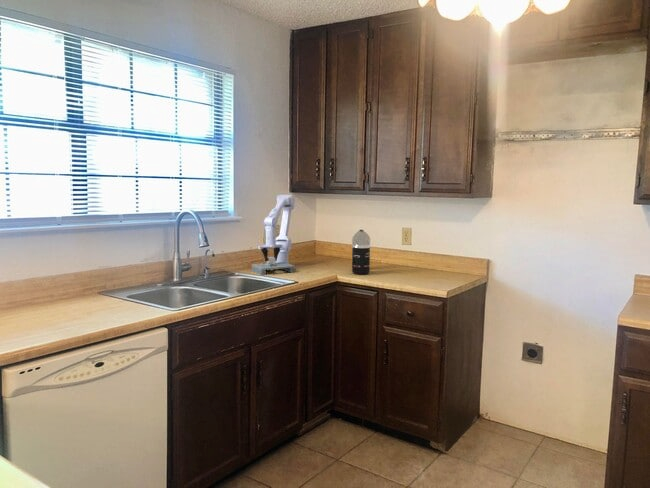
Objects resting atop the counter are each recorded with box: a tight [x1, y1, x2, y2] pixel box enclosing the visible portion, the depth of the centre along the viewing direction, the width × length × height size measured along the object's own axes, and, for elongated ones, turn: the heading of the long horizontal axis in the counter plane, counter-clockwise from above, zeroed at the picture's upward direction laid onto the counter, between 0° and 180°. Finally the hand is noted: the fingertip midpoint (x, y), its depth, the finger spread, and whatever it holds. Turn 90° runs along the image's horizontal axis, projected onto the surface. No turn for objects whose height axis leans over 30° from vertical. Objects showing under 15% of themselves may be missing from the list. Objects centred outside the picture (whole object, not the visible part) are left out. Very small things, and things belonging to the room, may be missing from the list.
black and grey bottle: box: [351, 229, 371, 276], centre depth 296 cm, size 10×10×25 cm
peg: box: [265, 256, 275, 271], centre depth 306 cm, size 4×4×7 cm
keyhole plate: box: [251, 262, 296, 276], centre depth 303 cm, size 16×20×4 cm
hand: (270, 260), depth 306 cm, fingers open, 5 cm apart
